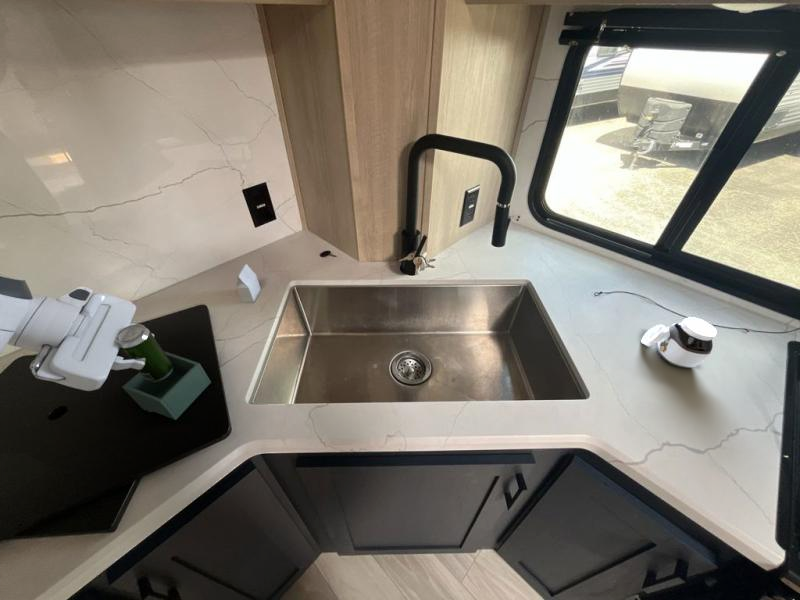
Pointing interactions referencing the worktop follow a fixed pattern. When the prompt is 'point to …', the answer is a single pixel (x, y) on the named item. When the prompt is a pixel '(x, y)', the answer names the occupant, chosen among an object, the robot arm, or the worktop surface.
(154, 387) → the bin
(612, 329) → the worktop surface
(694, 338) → the spread jar
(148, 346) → the beer can
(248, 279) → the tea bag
